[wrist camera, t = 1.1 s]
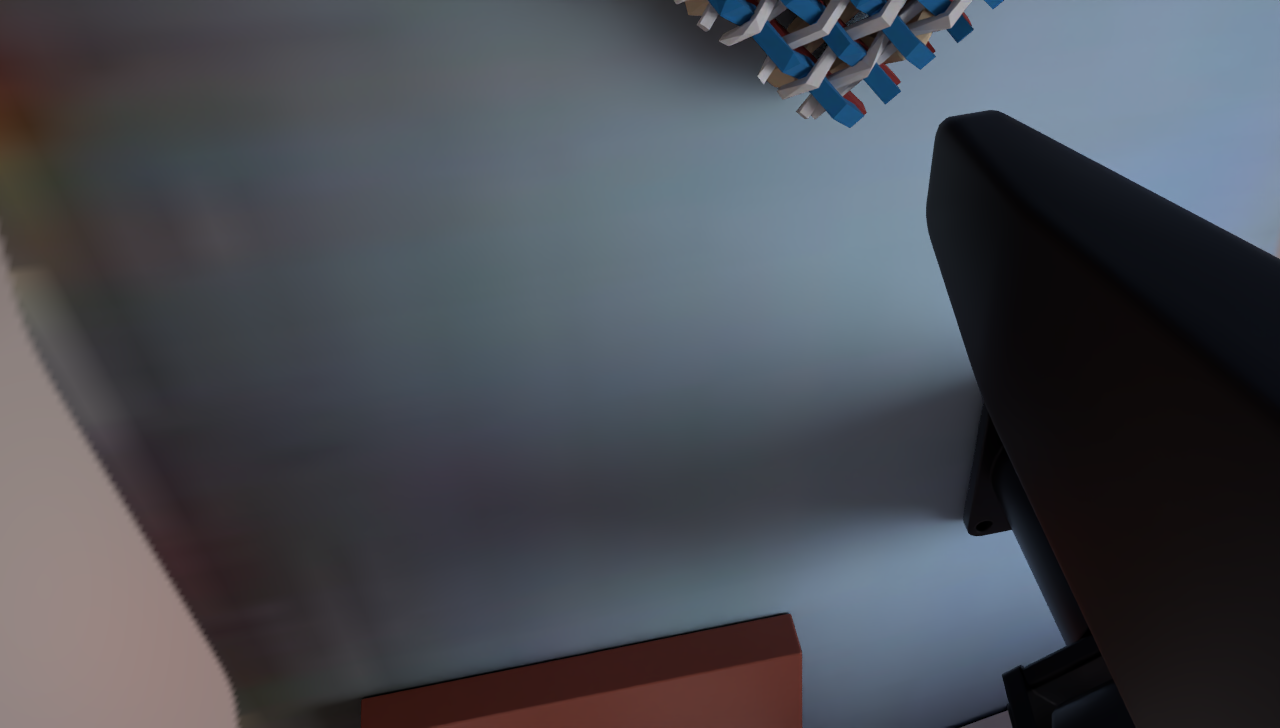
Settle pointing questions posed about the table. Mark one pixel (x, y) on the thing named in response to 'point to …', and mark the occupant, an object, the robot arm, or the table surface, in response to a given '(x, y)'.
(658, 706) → the reddish brown box
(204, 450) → the table surface
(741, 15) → the woven mat
